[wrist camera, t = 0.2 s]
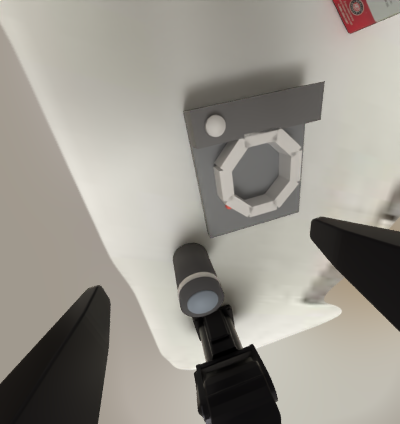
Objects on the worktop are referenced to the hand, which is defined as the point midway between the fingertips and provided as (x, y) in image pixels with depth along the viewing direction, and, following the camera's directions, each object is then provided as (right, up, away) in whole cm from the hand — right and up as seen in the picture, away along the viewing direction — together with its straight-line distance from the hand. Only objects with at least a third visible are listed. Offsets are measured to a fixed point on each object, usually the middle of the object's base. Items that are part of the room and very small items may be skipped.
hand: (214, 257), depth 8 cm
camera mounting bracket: (+5, +7, +14) cm, 16 cm away
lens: (-2, -4, +18) cm, 18 cm away
